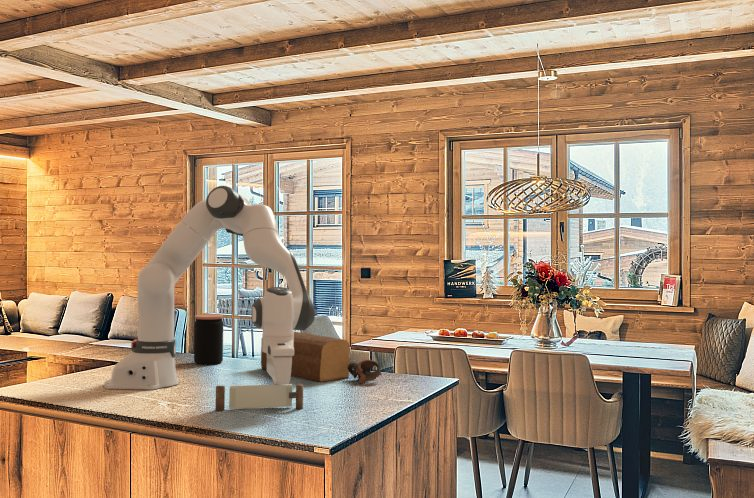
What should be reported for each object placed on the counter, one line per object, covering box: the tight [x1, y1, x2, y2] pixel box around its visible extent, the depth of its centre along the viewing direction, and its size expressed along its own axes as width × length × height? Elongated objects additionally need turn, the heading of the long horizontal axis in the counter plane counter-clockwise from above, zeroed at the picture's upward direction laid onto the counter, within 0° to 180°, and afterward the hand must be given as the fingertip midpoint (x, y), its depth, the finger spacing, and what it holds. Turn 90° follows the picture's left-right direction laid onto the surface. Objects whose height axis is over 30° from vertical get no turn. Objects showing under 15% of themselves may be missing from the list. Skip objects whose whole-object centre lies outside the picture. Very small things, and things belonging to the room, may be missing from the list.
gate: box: [228, 383, 293, 410], centre depth 194 cm, size 17×1×6 cm, turn 104°
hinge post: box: [214, 385, 226, 412], centre depth 191 cm, size 2×2×6 cm
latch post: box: [289, 383, 304, 410], centre depth 195 cm, size 4×3×6 cm, turn 100°
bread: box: [260, 330, 351, 383], centre depth 249 cm, size 14×34×14 cm, turn 45°
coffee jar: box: [193, 313, 224, 366], centre depth 266 cm, size 11×11×18 cm
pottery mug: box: [347, 359, 383, 385], centre depth 235 cm, size 12×10×8 cm
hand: (277, 394), depth 198 cm, fingers closed
